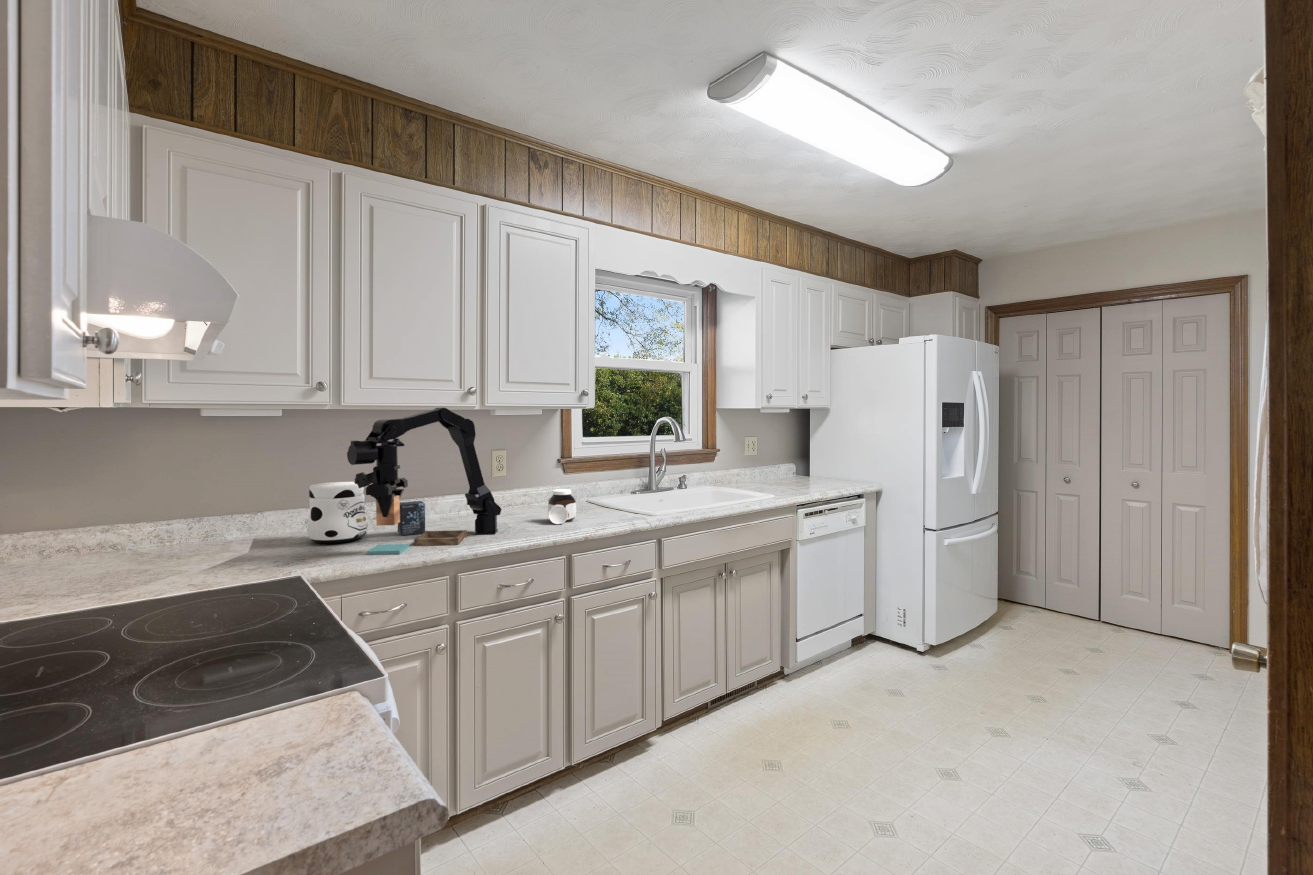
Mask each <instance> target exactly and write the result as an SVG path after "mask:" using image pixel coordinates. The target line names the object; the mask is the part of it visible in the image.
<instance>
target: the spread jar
mask: <svg viewBox="0 0 1313 875" xmlns="http://www.w3.org/2000/svg"><path fill="white" fill-rule="evenodd" d="M576 515H577V501H576V498H574V496H573V495H572V489H568V488H558V489H553V490H552V496H550V498H549V499H548V501H547V516H548V518H549V520H550V522H551V523H553V524H554V525H562V524H564V522H566V523H571V522H573V520H575V518H576ZM570 521H571V522H570Z"/></svg>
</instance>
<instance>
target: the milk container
mask: <svg viewBox="0 0 1313 875" xmlns="http://www.w3.org/2000/svg"><path fill="white" fill-rule="evenodd" d="M354 482H355V481H331V482H321V483H313V484H310V486H309V490H308V491H309V492H308V494H309V495H308V496H309V500H308V502H309V503H308V504H309V515H308V519H307V522H306V532H307V537H308V538H309V540H310V541H312V542H315V543H321V544H337V543H345V542H351V541H355V540H358V539H361V538H363V537H364V536H366V534H367V533H368V528H369V521H368V520H369V519H368V517H367V514H366V510H365V487H362V488H359V487H358V485H357V484H355V483H354Z"/></svg>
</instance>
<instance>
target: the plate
mask: <svg viewBox="0 0 1313 875" xmlns="http://www.w3.org/2000/svg"><path fill="white" fill-rule="evenodd" d="M409 548H410V544H409V543H391V544H389V543H388V544H386V543H385V544H377V545H375V546H374V547H372V548H370V549H369V550H367V551H366V555H367V556H369V555H370V556H373V555H374V556H375V555H377V556H378V555H401V554H402V553H403V552H405V551H406V550H408V549H409Z"/></svg>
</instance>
